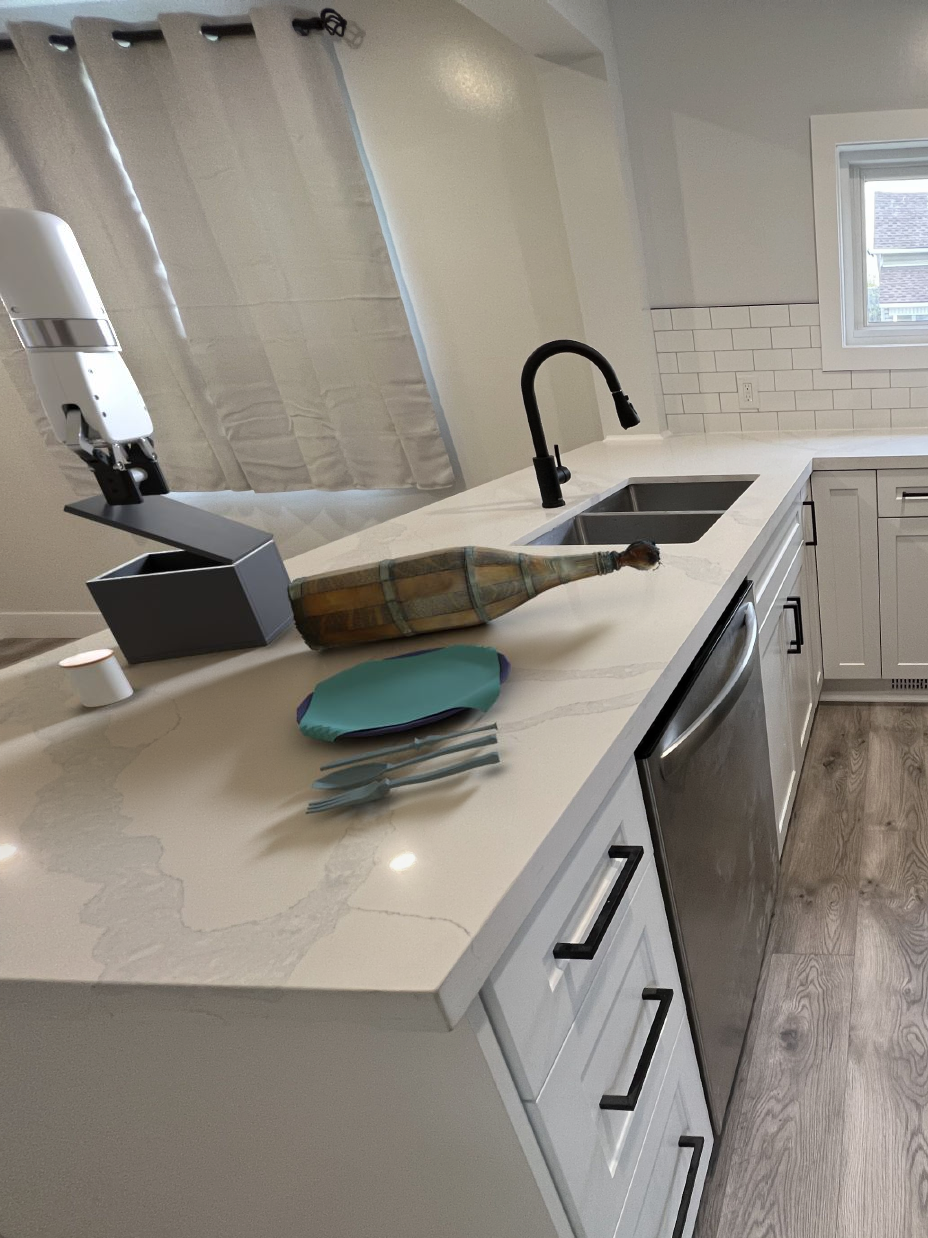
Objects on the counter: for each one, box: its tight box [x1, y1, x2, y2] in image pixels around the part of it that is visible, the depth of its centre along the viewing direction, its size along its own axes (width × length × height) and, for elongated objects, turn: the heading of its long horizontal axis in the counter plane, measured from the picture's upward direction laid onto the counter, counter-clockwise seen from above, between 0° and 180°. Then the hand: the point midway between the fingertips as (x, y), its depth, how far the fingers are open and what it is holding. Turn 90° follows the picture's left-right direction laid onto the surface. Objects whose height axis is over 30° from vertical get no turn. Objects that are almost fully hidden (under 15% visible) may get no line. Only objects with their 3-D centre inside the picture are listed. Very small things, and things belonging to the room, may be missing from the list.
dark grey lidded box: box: [84, 539, 295, 665], centre depth 91 cm, size 15×13×11 cm
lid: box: [62, 468, 275, 565], centre depth 87 cm, size 15×13×5 cm
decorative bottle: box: [287, 539, 665, 652], centre depth 94 cm, size 11×11×45 cm
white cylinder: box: [58, 648, 134, 708], centre depth 77 cm, size 4×4×5 cm
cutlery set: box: [296, 643, 512, 815], centre depth 71 cm, size 20×30×2 cm, turn 27°
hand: (140, 498), depth 85 cm, fingers closed on lid, 5 cm apart
